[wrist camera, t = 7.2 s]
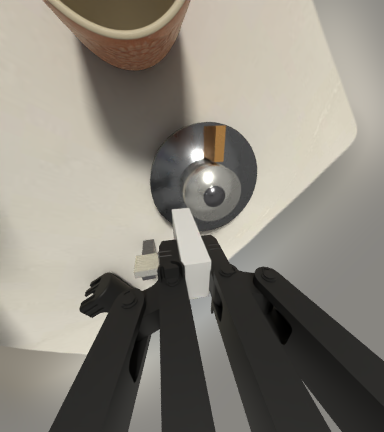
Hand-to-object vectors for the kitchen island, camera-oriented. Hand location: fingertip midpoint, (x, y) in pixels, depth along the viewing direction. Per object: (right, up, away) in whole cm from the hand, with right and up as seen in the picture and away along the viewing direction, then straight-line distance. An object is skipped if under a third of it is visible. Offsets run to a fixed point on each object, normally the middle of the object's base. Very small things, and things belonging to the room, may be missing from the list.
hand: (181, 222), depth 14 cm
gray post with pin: (-6, -4, +18) cm, 19 cm away
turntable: (+3, +7, +15) cm, 16 cm away
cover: (+3, +6, +12) cm, 14 cm away
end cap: (-15, -15, +22) cm, 31 cm away
